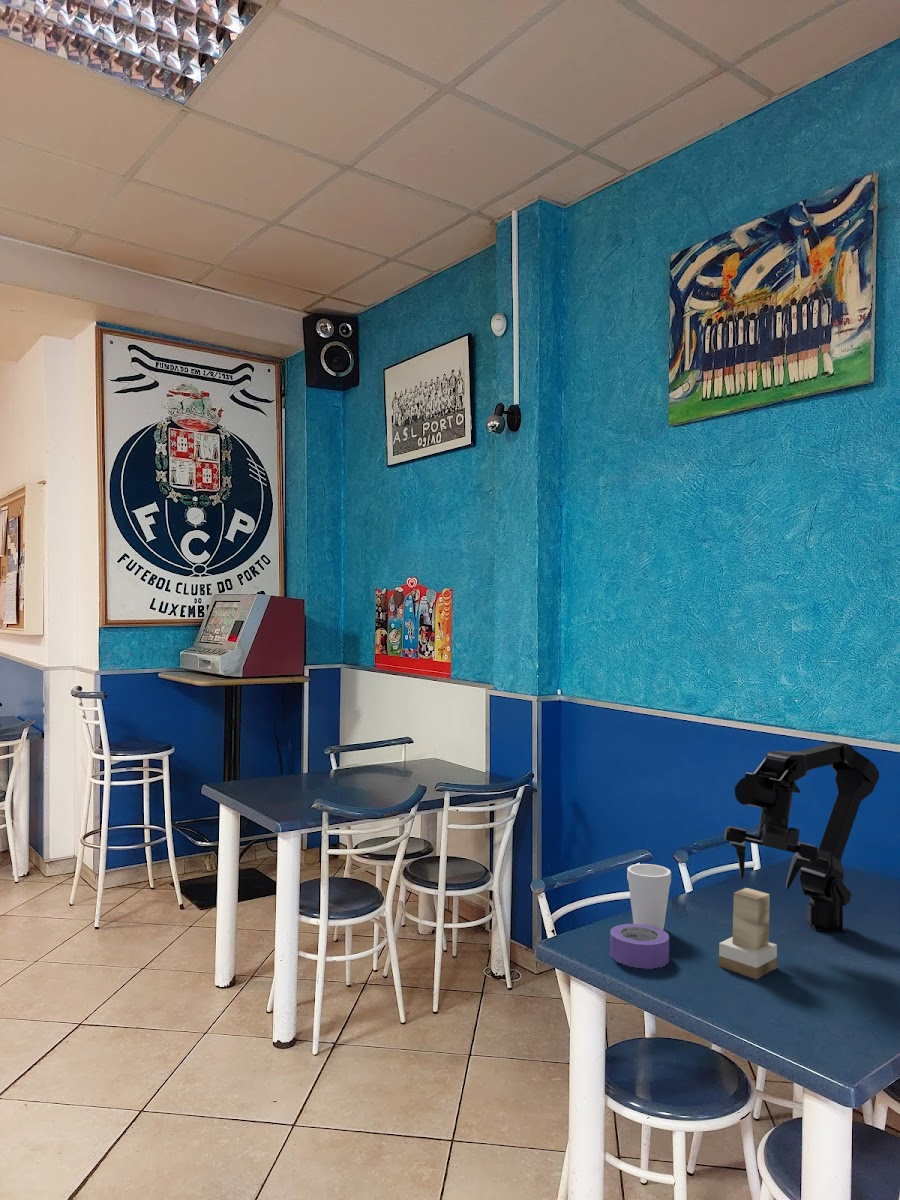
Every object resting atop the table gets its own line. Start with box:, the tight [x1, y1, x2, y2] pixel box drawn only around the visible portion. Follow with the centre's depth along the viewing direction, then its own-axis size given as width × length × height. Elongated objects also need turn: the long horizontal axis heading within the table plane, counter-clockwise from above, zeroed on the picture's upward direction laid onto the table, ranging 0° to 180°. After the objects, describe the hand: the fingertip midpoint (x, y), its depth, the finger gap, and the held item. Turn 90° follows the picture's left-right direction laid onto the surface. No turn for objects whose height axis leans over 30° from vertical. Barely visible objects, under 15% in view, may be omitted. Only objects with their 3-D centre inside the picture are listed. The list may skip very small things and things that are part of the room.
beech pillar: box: [732, 887, 771, 951], centre depth 171 cm, size 5×5×10 cm
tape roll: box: [609, 923, 670, 970], centre depth 176 cm, size 12×12×5 cm
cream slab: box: [718, 936, 778, 968], centre depth 171 cm, size 8×8×2 cm
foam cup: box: [626, 863, 672, 930], centre depth 191 cm, size 10×9×13 cm
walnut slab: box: [718, 955, 778, 980], centre depth 171 cm, size 8×8×2 cm
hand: (764, 883), depth 184 cm, fingers open, 9 cm apart
